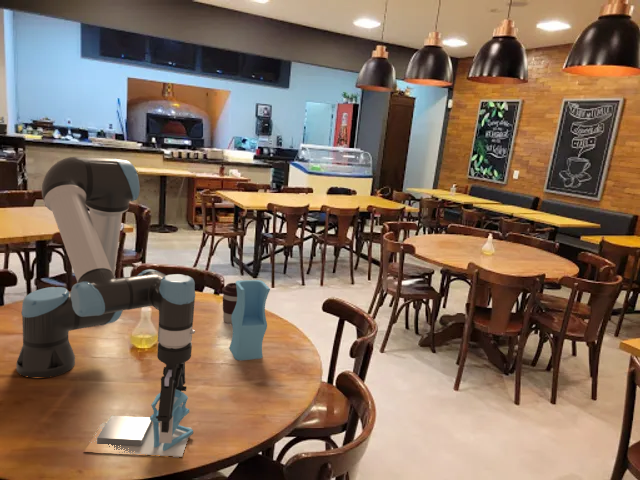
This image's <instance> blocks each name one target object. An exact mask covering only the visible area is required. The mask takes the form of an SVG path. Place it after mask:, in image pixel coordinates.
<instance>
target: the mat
mask: <svg viewBox="0 0 640 480" xmlns="http://www.w3.org/2000/svg"><path fill="white" fill-rule="evenodd" d="M101 423H102V422H101ZM101 423H100V425H99V427H101V426H102V427H101V428H102V429H103V428H104V427H103V426H105V425H106V423H107V422H103V423H102V424H101ZM99 427H98V428H97V430H98V429H99ZM186 427H187V428H190V429H193V428H192V427H189V426H186ZM101 428H100V429H101ZM159 432H160V425H159ZM95 433H96V432H95ZM95 433H94V434H95ZM184 433H186V432H185V431H182V430H179V429H176V430H175V432H174V434H173V436H172V440H173V439H175V438H177V437H179V436H180V435H182V434H184ZM96 434H97V433H96ZM96 434H95V435H96ZM95 438H96V437H95ZM188 438H190V436H189V437H187V438H185V439H183V440H182V441H180V442H178V443H176V444H175V445H173V446H171V447H170V448H168V449H167V450H165V451H163V445H164V443H160V444H159V446H158V447H154V430H153V424H152V425H151V427H150V429H149V431H148V433H147V435H146V437H145V439H144V441H143V443H142V445H141V446H130V445H121V446H120V445H116V446H115V445H114V448H115V447H116V450H117V449H118V448H120V447H121V448H120V449H121V450H122V449H123V448H124V449H123V450H125V449H126V450H125V451H128V450H129V451H128V452H129V453H130V454H131V453H132V454H134V453H135V454H145V455H146V454H147V455H160V456H173V457H172V458H179V457H182V458H183V456H184V454H183V453H185V451H184V450H186V448H185V447H187V445H186V444H188V442H187V441H189V439H188ZM96 441H97V440H96ZM94 442H95V441H94ZM91 443H92V442H91ZM108 445H109V444H108ZM112 446H113V445H112ZM118 446H119V447H118ZM109 447H110V446H109ZM128 448H129V449H128ZM120 449H118V450H120ZM114 450H115V449H114ZM125 451H124V453H125ZM131 451H132V452H131ZM134 451H135V452H134ZM128 452H126V453H128ZM133 452H134V453H133ZM140 452H141V453H140ZM119 453H120V452H119ZM122 453H123V452H122Z"/></svg>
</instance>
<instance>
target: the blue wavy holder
mask: <svg viewBox="0 0 640 480" xmlns="http://www.w3.org/2000/svg"><path fill="white" fill-rule="evenodd" d="M235 283H236V288H237V303H236V306H235V309H234V311H233V313H232V317H231V319H232V324H231V325H232V336H231V341H230V346H229V347H228V349H229V350H230V352H231V354H232V356H233V358H234V359H235V360H236V361H248V360H259V359H260V360H261V359H262V358H264V357H263V355H264V354H263V340H264V337H265V335H266V332H267V329H268V323H267V318H266V304H267V303H266V302H267V299H268V296H269V294H270V291H271V288H270V287H269V286H268V285H267V284H266V282H264V281H263V280H261V279H249V280H248V279H243V280H242V279H239V280H236V281H235Z"/></svg>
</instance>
